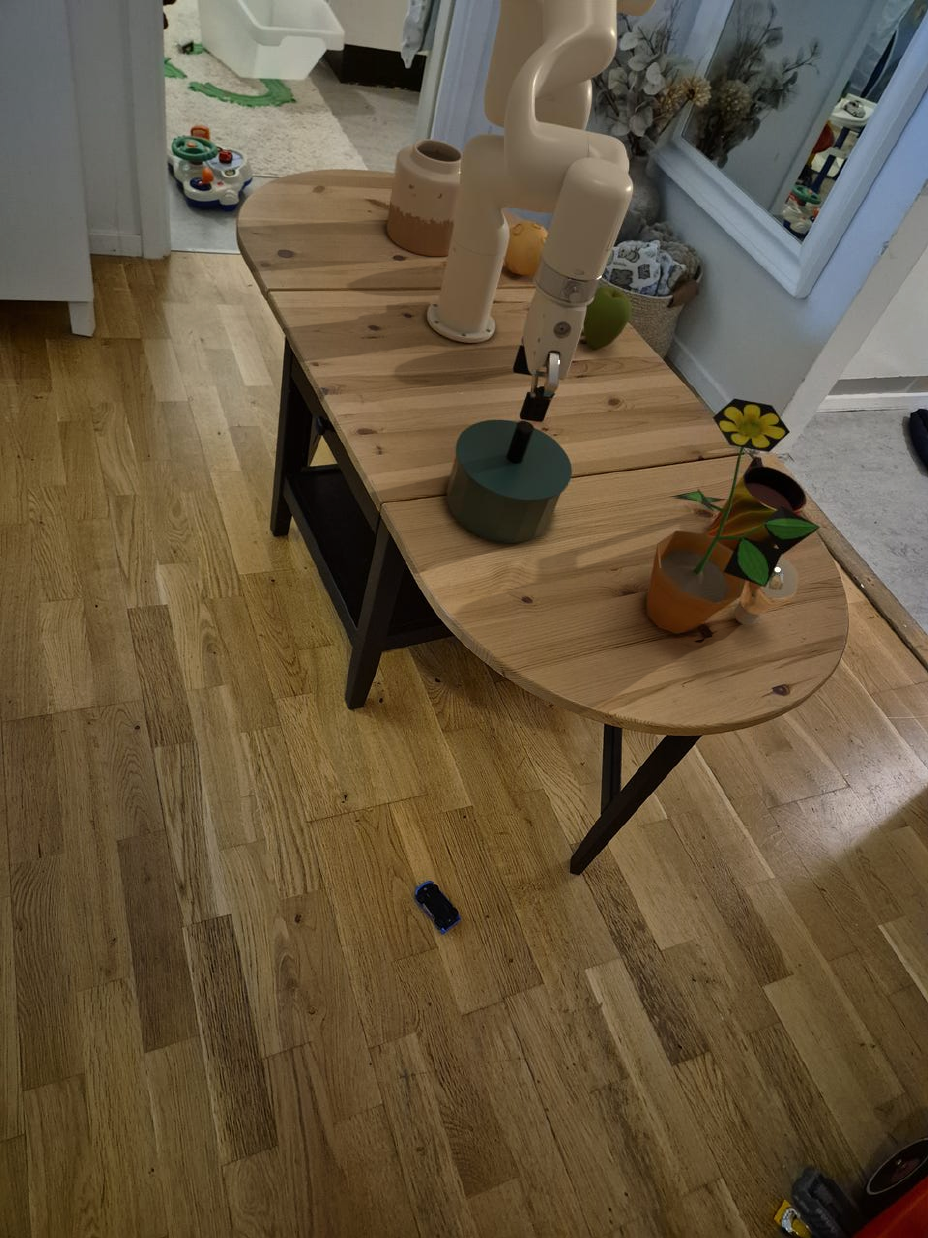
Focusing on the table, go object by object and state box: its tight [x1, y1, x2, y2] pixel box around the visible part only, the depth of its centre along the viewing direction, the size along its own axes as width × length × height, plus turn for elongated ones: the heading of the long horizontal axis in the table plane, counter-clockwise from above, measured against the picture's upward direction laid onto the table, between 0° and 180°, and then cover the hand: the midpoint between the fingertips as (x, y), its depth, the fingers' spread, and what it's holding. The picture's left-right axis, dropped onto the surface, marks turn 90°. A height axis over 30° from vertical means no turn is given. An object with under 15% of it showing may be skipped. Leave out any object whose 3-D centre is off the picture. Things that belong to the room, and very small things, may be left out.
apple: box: [583, 285, 633, 351], centre depth 147 cm, size 9×8×12 cm
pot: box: [446, 456, 561, 544], centre depth 114 cm, size 16×16×8 cm
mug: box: [705, 455, 808, 551], centre depth 120 cm, size 10×14×12 cm
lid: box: [455, 419, 573, 503], centre depth 109 cm, size 17×17×7 cm
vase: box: [386, 138, 463, 257], centre depth 156 cm, size 15×15×17 cm
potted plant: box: [645, 397, 821, 635], centre depth 99 cm, size 18×19×30 cm
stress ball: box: [504, 220, 548, 276], centre depth 159 cm, size 10×10×10 cm
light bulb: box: [733, 556, 800, 625], centre depth 109 cm, size 7×7×12 cm
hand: (527, 395), depth 107 cm, fingers open, 9 cm apart
